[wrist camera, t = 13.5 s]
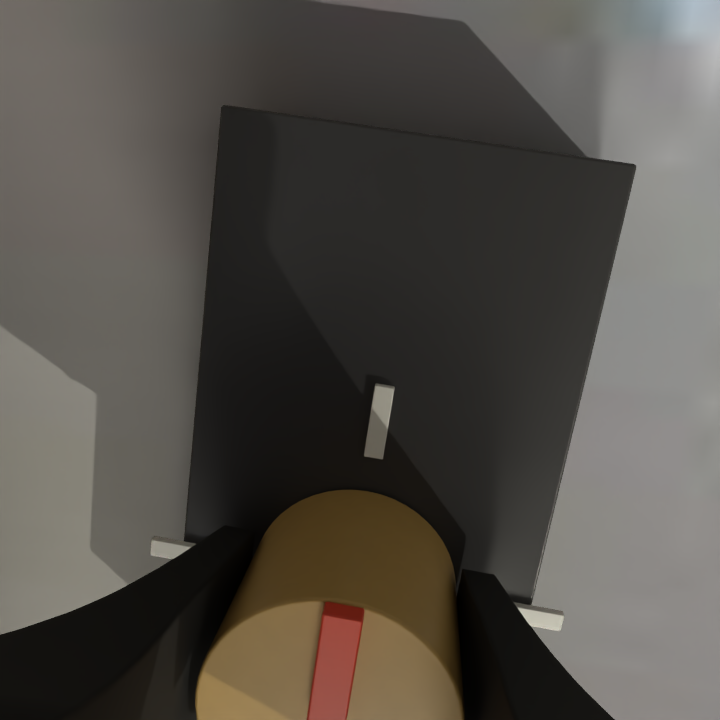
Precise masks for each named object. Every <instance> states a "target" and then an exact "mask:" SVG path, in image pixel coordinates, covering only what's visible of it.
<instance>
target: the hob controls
mask: <svg viewBox="0 0 720 720" xmlns="http://www.w3.org/2000/svg"><path fill="white" fill-rule="evenodd" d="M635 171H636V165H634V164H630V163H623V162H616V161H609V160H602V159H595V158H588V157H581V156H574V155H567V154H560V153H553V152H547V151H540V150H533V149H526V148H519V147H512V146H505V145H498V144H491V143H484V142H477V141H470V140H463V139H457V138H450V137H443V136H436V135H429V134H422V133H415V132H408V131H401V130H394V129H387V128H380V127H374V126H367V125H360V124H353V123H346V122H339V121H332V120H325V119H318V118H311V117H304V116H297V115H290V114H284V113H277V112H270V111H263V110H256V109H249V108H242V107H235V106H228V105H223V106H222V107H221V117H220V129H219V140H218V152H217V163H216V175H215V187H214V198H213V210H212V221H211V233H210V245H209V256H208V268H207V279H206V291H205V303H204V314H203V326H202V337H201V349H200V361H199V372H198V384H197V395H196V407H195V419H194V430H193V442H192V453H191V465H190V477H189V488H188V500H187V511H186V523H185V535H184V541H179V540H173V539H168V538H162V537H157V536H154V537H153V538H152V540H151V552H150V555H152V556H158V557H163V558H168V559H174V558H176V557H177V556H179V555H180V554H182V553H183V552H185V551H186V550H188V549H189V548H191V547H192V546H194V545H195V544H197V543H198V542H200V541H201V540H203V539H204V538H206V537H207V536H209V535H210V534H212V533H213V532H215V531H217V530H218V529H220V528H221V527H223V526H224V525H226V526H232V527H237V528H243V529H248V530H254V531H255V537H254V546H253V554H252V558H253V556H254V554H255V552H256V550H257V548H258V546H259V544H260V542H261V540H262V538H263V536H264V534H265V532H266V531H267V529H268V528H269V527H270V525H271V524H272V523H273V522H274V521H275V519H276V518H277V517H278V516H279V515H280V514H281V513H283V512H284V511H285V510H287V509H288V508H289V507H291V506H292V505H294V504H296V503H297V502H299V501H301V500H303V499H306V498H308V497H310V496H313V495H316V494H320V493H324V492H328V491H335V490H361V491H369V492H373V493H377V494H381V495H384V496H387V497H389V498H392V499H395V500H397V501H399V502H400V503H402V504H404V505H406V506H408V507H409V508H411V509H412V510H414V511H415V512H417V513H418V514H419V515H420V516H421V517H422V518H424V519H425V520H426V521H427V522H428V523H429V524H430V525H431V526H432V527H433V529H434V530H435V531H436V532H437V533H438V535H439V536H440V538H441V539H442V541H443V542H444V544H445V546H446V548H447V551H448V553H449V555H450V558H451V561H452V564H453V568H454V574H455V581H456V595H457V593H458V588H459V583H460V578H461V573H462V569H467V570H473V571H478V572H484V573H489V574H494V575H495V576H496V577H497V579H498V580H499V582H500V583H501V585H502V586H503V587H504V589H505V590H506V592H507V593H508V595H509V596H510V598H511V599H512V601H513V602H514V604H515V605H516V606H517V608H518V609H519V611H520V612H521V614H522V615H523V616H524V618H525V619H526V621H527V622H528V623H529V625H530V626H534V627H540V628H545V629H550V630H556V631H560V630H561V626H562V622H563V619H564V614H563V611H559V610H554V609H548V608H543V607H537V606H532V605H531V604H532V600H533V596H534V591H535V587H536V583H537V579H538V575H539V571H540V566H541V562H542V558H543V554H544V550H545V546H546V542H547V537H548V533H549V529H550V525H551V521H552V517H553V512H554V508H555V504H556V500H557V496H558V492H559V487H560V483H561V479H562V475H563V471H564V467H565V462H566V458H567V454H568V450H569V446H570V442H571V437H572V433H573V429H574V425H575V421H576V417H577V412H578V408H579V404H580V400H581V396H582V392H583V387H584V383H585V379H586V375H587V371H588V367H589V362H590V358H591V354H592V350H593V346H594V342H595V337H596V333H597V329H598V325H599V321H600V317H601V312H602V308H603V304H604V300H605V296H606V292H607V287H608V283H609V279H610V275H611V271H612V267H613V263H614V258H615V254H616V250H617V246H618V242H619V238H620V233H621V229H622V225H623V221H624V217H625V213H626V208H627V204H628V200H629V196H630V192H631V188H632V183H633V179H634V175H635Z"/></svg>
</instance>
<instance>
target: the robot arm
mask: <svg viewBox="0 0 720 720" xmlns="http://www.w3.org/2000/svg"><path fill="white" fill-rule="evenodd" d="M254 537H255V531H254V530H248V529H243V528H237V527H232V526H226V525H224V526H223V527H221V528H220V529H218V530H217V531H215V532H213V533H212V534H210V535H209V536H207V537H206V538H204V539H203V540H201V541H200V542H198V543H197V544H195V545H194V546H192V547H191V548H189V549H188V550H186V551H185V552H183V553H182V554H180V555H179V556H177V557H176V558H174V559H172V560H171V561H169V562H168V563H166V564H164V565H163V566H161V567H160V568H158V569H156V570H154V571H152V572H151V573H149V574H147V575H145V576H144V577H142V578H140V579H138V580H136V581H135V582H133V583H131V584H129V585H127V586H126V587H124V588H122V589H120V590H118V591H116V592H114V593H112V594H110V595H108V596H106V597H103V598H101V599H99V600H97V601H94V602H92V603H90V604H87V605H85V606H83V607H81V608H78V609H76V610H73V611H71V612H68V613H66V614H63V615H60V616H57V617H54V618H51V619H48V620H45V621H42V622H40V623H37V624H34V625H31V626H28V627H25V628H22V629H19V630H16V631H12V632H9V633H5V634H1V635H0V720H197V716H196V708H195V691H196V685H197V679H198V675H199V672H200V669H201V666H202V663H203V661H204V659H205V657H206V654H207V652H208V650H209V648H210V646H211V644H212V642H213V640H214V638H215V636H216V634H217V631H218V629H219V627H220V625H221V623H222V621H223V619H224V617H225V615H226V613H227V610H228V608H229V606H230V604H231V602H232V600H233V598H234V596H235V594H236V592H237V590H238V587H239V585H240V583H241V581H242V579H243V577H244V575H245V573H246V571H247V569H248V567H249V564H250V562H251V560H252V554H253V546H254ZM457 610H458V624H459V638H460V652H461V666H462V680H463V695H464V709H465V720H614V719H613V718H612V717H611V716H610V715H609V714H608V713H607V712H606V711H605V710H604V709H603V708H602V707H601V706H600V705H599V704H598V703H597V702H596V701H595V700H594V699H593V698H592V697H591V696H590V695H589V694H588V693H587V692H586V691H585V690H584V689H583V688H582V687H581V686H580V685H579V684H578V683H577V682H576V681H575V680H574V679H573V678H572V676H571V675H570V674H569V673H568V672H567V671H566V669H565V668H564V667H563V666H562V665H561V664H560V663H559V661H558V660H557V659H556V658H555V657H554V656H553V654H552V653H551V652H550V651H549V649H548V648H547V647H546V646H545V644H544V643H543V642H542V641H541V639H540V638H539V637H538V635H537V634H536V633H535V631H534V630H533V629H532V627H531V626H530V625H529V623H528V622H527V621H526V619H525V618H524V616H523V615H522V614H521V612H520V611H519V609H518V608H517V606H516V605H515V604H514V602H513V601H512V599H511V598H510V596H509V595H508V593H507V592H506V590H505V589H504V587H503V586H502V585H501V583H500V582H499V580H498V579H497V577H496V576H495V575H494V574H489V573H484V572H478V571H473V570H467V569H462V573H461V578H460V583H459V588H458V593H457Z"/></svg>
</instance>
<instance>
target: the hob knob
mask: <svg viewBox="0 0 720 720" xmlns="http://www.w3.org/2000/svg"><path fill="white" fill-rule="evenodd" d="M195 708H196V716H197V720H465V709H464V695H463V680H462V666H461V652H460V638H459V624H458V610H457V595H456V581H455V574H454V568H453V564H452V561H451V558H450V555H449V553H448V551H447V548H446V546H445V544H444V542H443V541H442V539H441V538H440V536H439V535H438V533H437V532H436V531H435V530H434V529H433V527H432V526H431V525H430V524H429V523H428V522H427V521H426V520H425V519H424V518H422V517H421V516H420V515H419V514H418V513H417V512H415V511H414V510H412V509H411V508H409V507H408V506H406V505H404V504H402V503H400V502H399V501H397V500H395V499H392V498H389V497H387V496H384V495H381V494H377V493H373V492H369V491H361V490H335V491H328V492H324V493H320V494H316V495H313V496H310V497H308V498H306V499H303V500H301V501H299V502H297V503H296V504H294V505H292V506H291V507H289V508H288V509H287V510H285V511H284V512H283V513H281V514H280V515H279V516H278V517H277V518H276V519H275V521H274V522H273V523H272V524H271V525H270V527H269V528H268V529H267V531H266V532H265V534H264V536H263V538H262V540H261V542H260V544H259V546H258V548H257V550H256V552H255V554H254V556H253V558H252V560H251V562H250V564H249V567H248V569H247V571H246V573H245V575H244V577H243V579H242V581H241V583H240V585H239V587H238V590H237V592H236V594H235V596H234V598H233V600H232V602H231V604H230V606H229V608H228V610H227V613H226V615H225V617H224V619H223V621H222V623H221V625H220V627H219V629H218V631H217V634H216V636H215V638H214V640H213V642H212V644H211V646H210V648H209V650H208V652H207V654H206V657H205V659H204V661H203V663H202V666H201V669H200V672H199V675H198V679H197V685H196V691H195Z"/></svg>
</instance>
